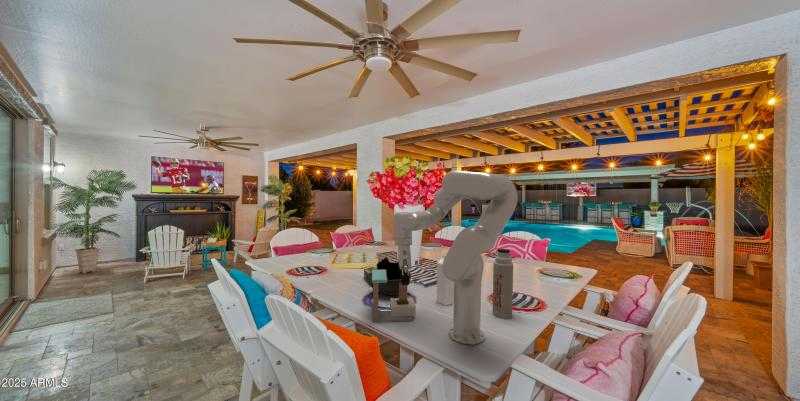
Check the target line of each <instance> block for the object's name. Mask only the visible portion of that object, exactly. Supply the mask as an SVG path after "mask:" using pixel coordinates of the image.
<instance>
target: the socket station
mask: <svg viewBox="0 0 800 401" xmlns="http://www.w3.org/2000/svg"><path fill="white" fill-rule="evenodd" d="M372 283H373V288H372V323H373V324H374V323H402V322H405V323H406V322H410V323H411V322H414V319H413V317H416V315H417V314H416V313H417V312H416V309H417V308H416V304H415V301H414V300H415V299H414V298H413V297H407V305H398V304H399V297H395V298H394V297H390V298H389V303H390V304H389V305H390V307H391V311H380V310H378V305H379V290H378V283H387V275H386V270H372Z"/></svg>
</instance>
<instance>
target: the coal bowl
mask: <svg viewBox="0 0 800 401" xmlns="http://www.w3.org/2000/svg"><path fill="white" fill-rule="evenodd" d="M375 266H376V268H377V270H386V275H387V283H378V292H380V293H383V294H384V295H387V294H388V295H389V296H395V295H399V294H398V293H399V283H401V282H402V281H401V279H400V273H399V269H400V268H399V263H398V261H397V262H390V260H389V258H388V257H387V256H386V257H385V258H382V259H381V260H380V261H378V262H377V263H376V265H375ZM411 278H412V274H411V272H409V283H410V282H411ZM408 286H409V285H407V287H408ZM394 294H395V295H394ZM388 295H387V296H388Z"/></svg>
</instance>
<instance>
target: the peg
mask: <svg viewBox="0 0 800 401" xmlns="http://www.w3.org/2000/svg"><path fill="white" fill-rule="evenodd" d="M398 298H399V304H398V305H407V298H408V286H407V285H402V282H401V283H399V294H398Z"/></svg>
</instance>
